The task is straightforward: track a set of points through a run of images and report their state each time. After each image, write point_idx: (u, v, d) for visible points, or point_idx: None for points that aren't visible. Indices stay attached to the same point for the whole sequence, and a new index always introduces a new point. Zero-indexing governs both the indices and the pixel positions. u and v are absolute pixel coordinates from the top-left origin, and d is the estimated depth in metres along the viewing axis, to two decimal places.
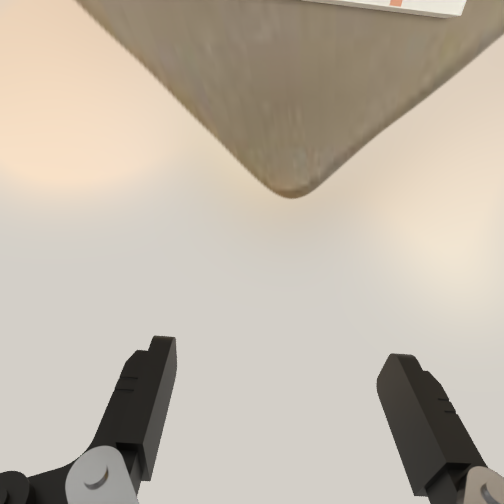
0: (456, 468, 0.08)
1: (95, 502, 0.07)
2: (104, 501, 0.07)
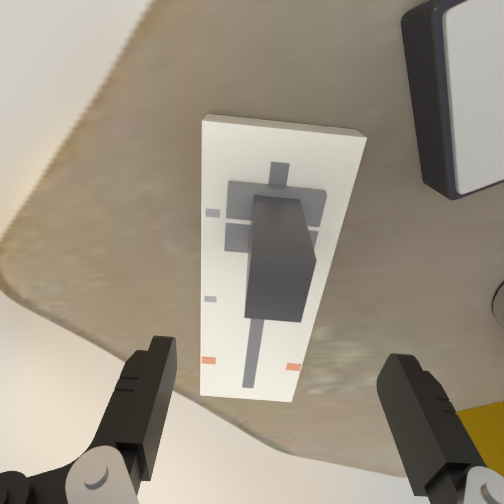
0: (456, 468, 0.08)
1: (95, 502, 0.07)
2: (104, 501, 0.07)
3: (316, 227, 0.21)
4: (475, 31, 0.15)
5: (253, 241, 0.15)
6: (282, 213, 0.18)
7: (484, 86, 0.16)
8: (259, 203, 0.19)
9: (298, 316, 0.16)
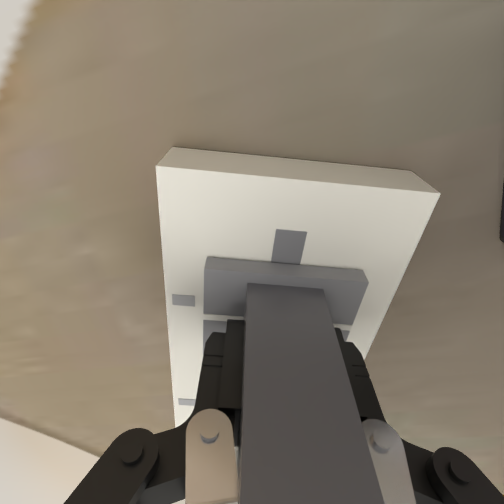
0: None
1: (216, 454, 0.08)
2: (211, 457, 0.07)
3: (347, 325, 0.13)
4: None
5: (245, 442, 0.07)
6: (298, 331, 0.10)
7: None
8: (257, 305, 0.11)
9: None
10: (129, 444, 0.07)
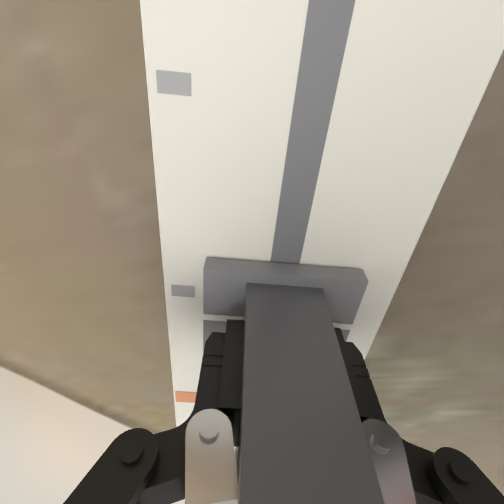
0: None
1: (215, 454, 0.08)
2: (211, 457, 0.07)
3: (347, 324, 0.13)
4: None
5: (245, 442, 0.07)
6: (298, 330, 0.10)
7: None
8: (256, 305, 0.11)
9: None
10: (129, 443, 0.07)
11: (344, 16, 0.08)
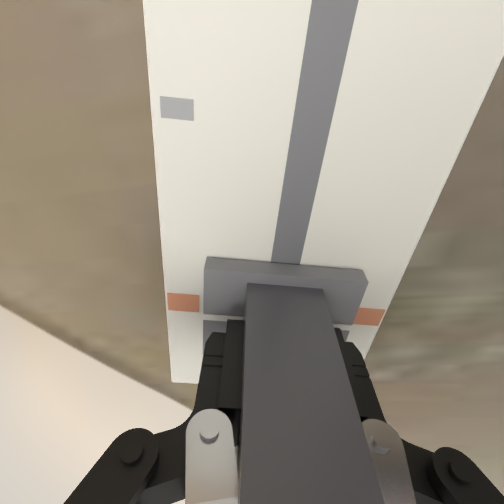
0: None
1: (215, 454, 0.08)
2: (211, 457, 0.07)
3: (346, 325, 0.13)
4: None
5: (245, 442, 0.07)
6: (298, 330, 0.10)
7: None
8: (256, 305, 0.11)
9: None
10: (129, 444, 0.07)
11: None
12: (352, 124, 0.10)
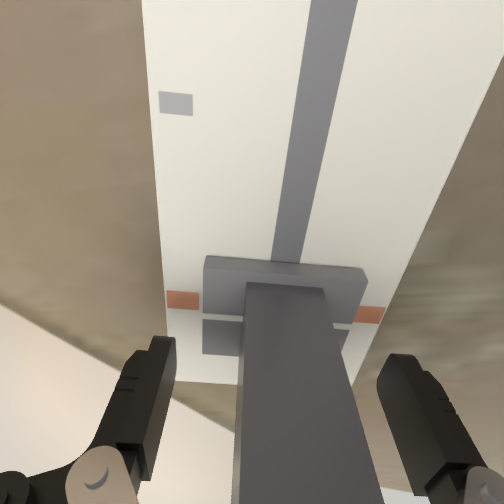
0: (456, 468, 0.08)
1: (95, 503, 0.07)
2: (104, 501, 0.07)
3: (346, 324, 0.13)
4: None
5: (244, 441, 0.07)
6: (298, 330, 0.10)
7: None
8: (256, 304, 0.11)
9: None
10: None
11: None
12: (353, 119, 0.10)
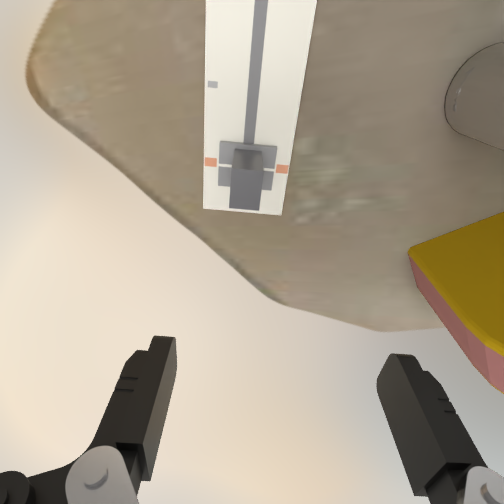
0: (456, 468, 0.08)
1: (95, 502, 0.07)
2: (104, 501, 0.07)
3: (272, 168, 0.35)
4: None
5: (232, 164, 0.29)
6: (250, 155, 0.32)
7: None
8: (237, 151, 0.33)
9: (257, 206, 0.30)
10: None
11: None
12: (266, 89, 0.32)
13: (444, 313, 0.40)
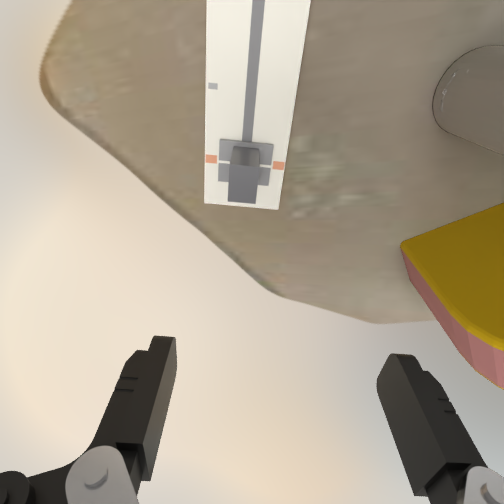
0: (456, 468, 0.08)
1: (95, 502, 0.07)
2: (104, 501, 0.07)
3: (269, 165, 0.37)
4: None
5: (231, 160, 0.31)
6: (248, 152, 0.34)
7: None
8: (236, 149, 0.35)
9: (254, 200, 0.32)
10: None
11: None
12: (262, 90, 0.34)
13: (433, 303, 0.42)
